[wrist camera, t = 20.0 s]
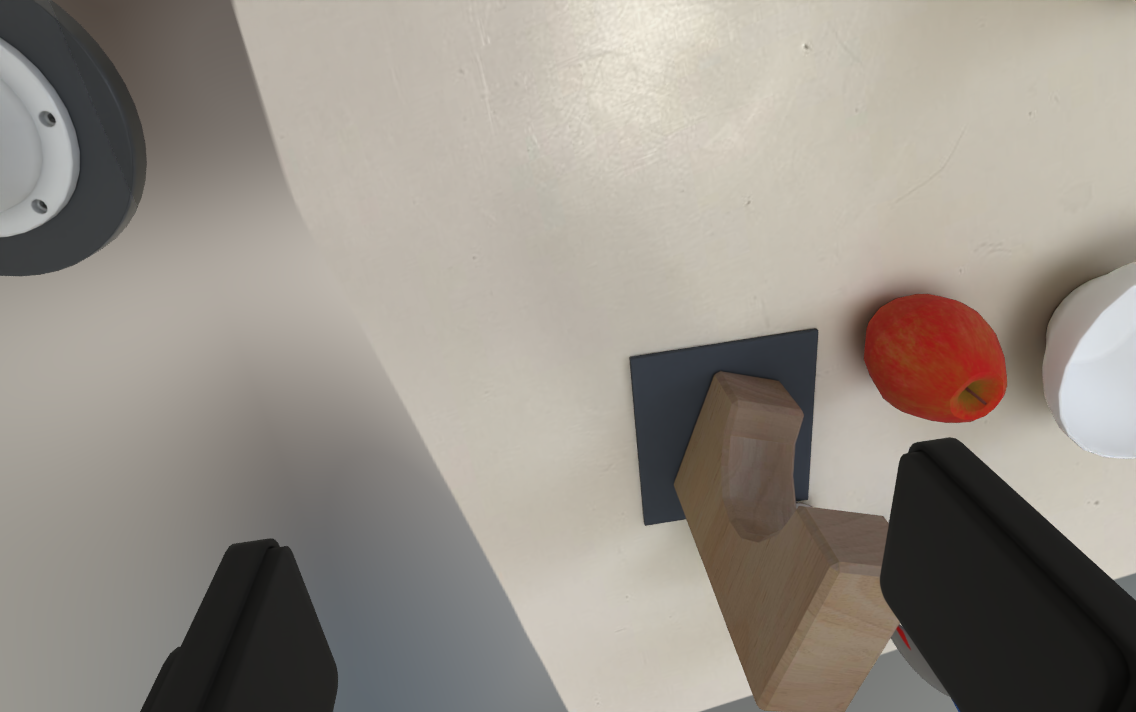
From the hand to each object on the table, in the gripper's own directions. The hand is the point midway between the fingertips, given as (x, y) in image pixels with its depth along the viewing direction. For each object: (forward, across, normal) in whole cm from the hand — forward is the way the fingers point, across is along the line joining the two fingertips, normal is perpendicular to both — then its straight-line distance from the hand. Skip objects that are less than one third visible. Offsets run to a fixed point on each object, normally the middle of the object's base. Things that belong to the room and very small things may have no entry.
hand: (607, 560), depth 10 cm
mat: (+35, -14, +24) cm, 44 cm away
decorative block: (+35, -13, +24) cm, 44 cm away
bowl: (+35, -42, +18) cm, 58 cm away
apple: (+35, -26, +16) cm, 47 cm away
